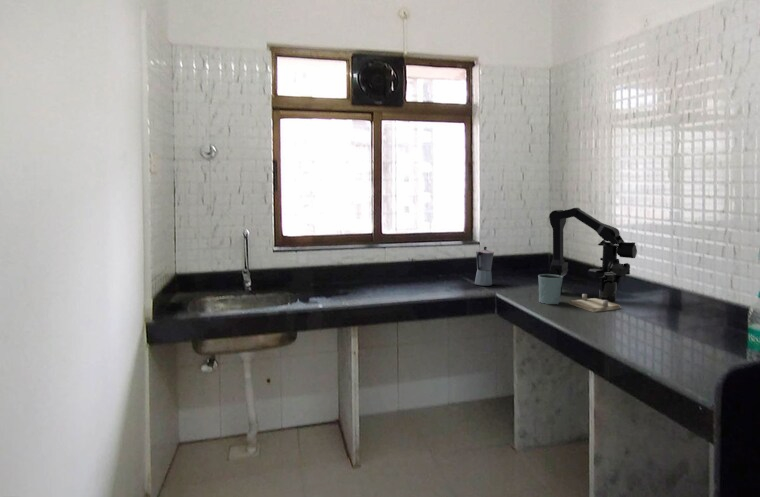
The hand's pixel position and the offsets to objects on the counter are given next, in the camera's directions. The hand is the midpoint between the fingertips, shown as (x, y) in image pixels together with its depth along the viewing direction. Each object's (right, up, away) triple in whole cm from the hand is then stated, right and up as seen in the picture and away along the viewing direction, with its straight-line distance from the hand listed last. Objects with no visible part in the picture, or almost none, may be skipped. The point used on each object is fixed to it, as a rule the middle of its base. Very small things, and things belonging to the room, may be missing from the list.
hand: (608, 290), depth 219 cm
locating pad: (-10, -6, -9) cm, 15 cm away
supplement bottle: (0, -5, +1) cm, 5 cm away
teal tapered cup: (-27, -5, -1) cm, 27 cm away
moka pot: (-48, 0, +38) cm, 61 cm away
